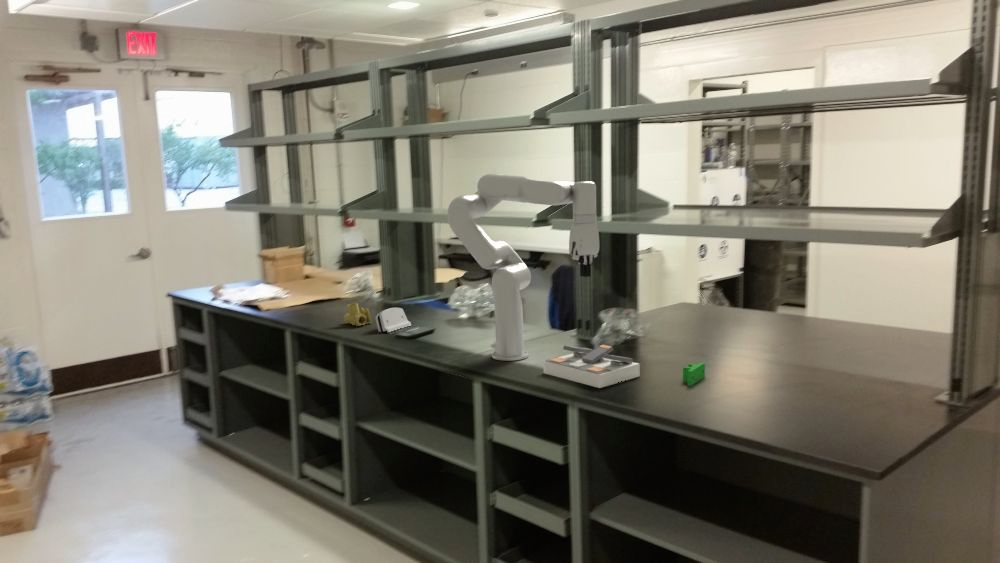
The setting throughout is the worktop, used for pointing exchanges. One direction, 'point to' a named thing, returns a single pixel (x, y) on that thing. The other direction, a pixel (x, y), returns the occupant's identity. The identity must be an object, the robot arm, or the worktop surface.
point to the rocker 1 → (577, 349)
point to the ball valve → (357, 315)
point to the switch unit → (591, 370)
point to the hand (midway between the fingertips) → (585, 276)
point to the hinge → (392, 320)
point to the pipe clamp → (693, 373)
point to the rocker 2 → (597, 354)
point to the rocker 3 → (617, 358)
